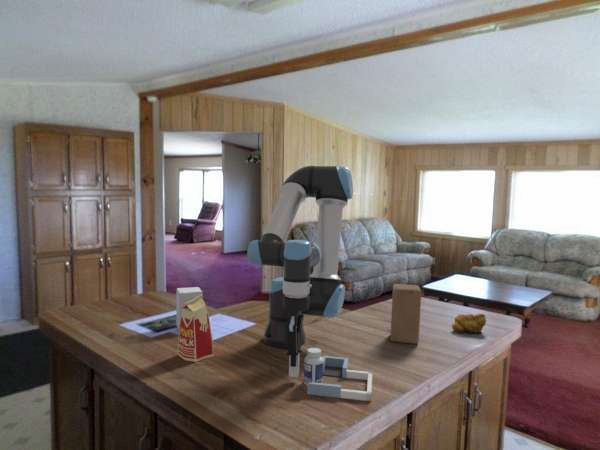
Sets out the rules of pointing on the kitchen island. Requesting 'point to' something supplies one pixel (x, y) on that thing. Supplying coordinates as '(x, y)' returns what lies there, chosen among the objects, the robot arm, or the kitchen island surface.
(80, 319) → the kitchen island surface
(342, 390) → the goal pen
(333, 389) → the blue-grey open frame
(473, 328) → the bread roll
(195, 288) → the supplement box
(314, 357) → the pill bottle
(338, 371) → the pit
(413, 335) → the wooden block
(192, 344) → the milk carton
